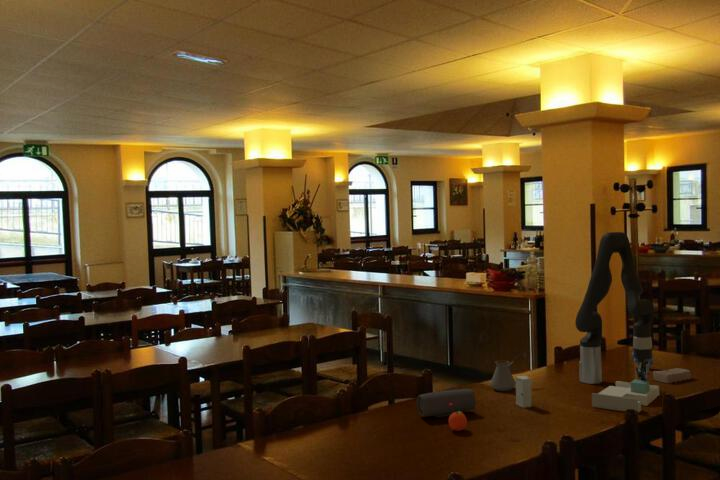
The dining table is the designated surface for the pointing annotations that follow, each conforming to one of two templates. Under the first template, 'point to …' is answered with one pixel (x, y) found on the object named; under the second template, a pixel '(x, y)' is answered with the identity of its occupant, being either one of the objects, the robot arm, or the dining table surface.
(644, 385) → the block
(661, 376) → the brick
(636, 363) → the grapes
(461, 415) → the clementine
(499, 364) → the coffee pot
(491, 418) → the dining table surface
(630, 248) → the robot arm
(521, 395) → the skincare box
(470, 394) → the bluetooth speaker
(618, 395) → the tray
